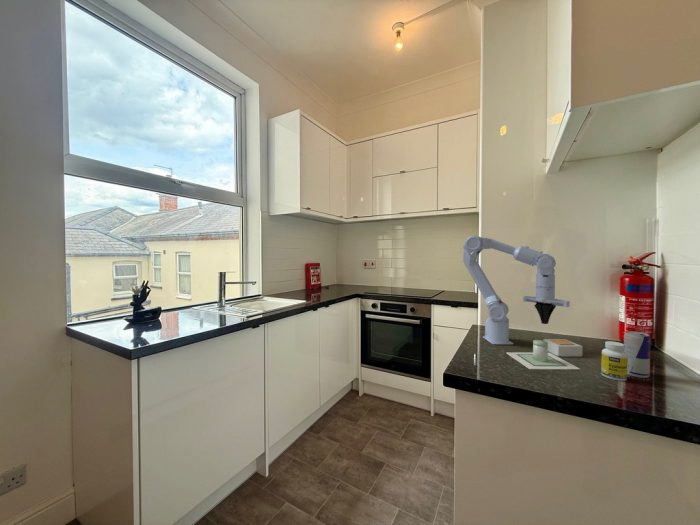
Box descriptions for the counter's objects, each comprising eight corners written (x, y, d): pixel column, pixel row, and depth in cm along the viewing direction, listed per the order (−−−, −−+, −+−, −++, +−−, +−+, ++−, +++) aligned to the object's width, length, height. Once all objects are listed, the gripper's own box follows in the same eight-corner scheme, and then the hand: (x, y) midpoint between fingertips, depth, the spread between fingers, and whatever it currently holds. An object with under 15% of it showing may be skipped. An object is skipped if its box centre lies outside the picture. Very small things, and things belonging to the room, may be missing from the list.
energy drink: (655, 379, 79) (656, 336, 78) (632, 377, 80) (633, 335, 79) (639, 371, 84) (640, 331, 83) (618, 369, 85) (619, 330, 84)
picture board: (506, 353, 100) (506, 352, 100) (549, 353, 99) (549, 352, 99) (529, 369, 86) (529, 368, 86) (580, 369, 85) (580, 368, 85)
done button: (550, 346, 102) (550, 339, 102) (564, 346, 102) (564, 339, 102) (559, 350, 98) (559, 344, 98) (574, 350, 97) (574, 344, 97)
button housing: (543, 348, 104) (543, 339, 104) (565, 348, 104) (565, 339, 104) (558, 356, 96) (558, 346, 96) (582, 356, 96) (582, 346, 96)
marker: (530, 357, 95) (530, 339, 94) (542, 357, 94) (542, 339, 94) (537, 362, 91) (537, 343, 90) (550, 362, 90) (550, 343, 90)
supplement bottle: (606, 379, 78) (607, 345, 78) (597, 372, 83) (597, 339, 83) (631, 382, 77) (632, 347, 76) (620, 374, 82) (621, 341, 81)
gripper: (519, 285, 108) (518, 320, 108) (563, 289, 95) (562, 329, 96) (528, 284, 111) (528, 318, 112) (572, 288, 99) (571, 326, 99)
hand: (544, 323), depth 104 cm, fingers closed
